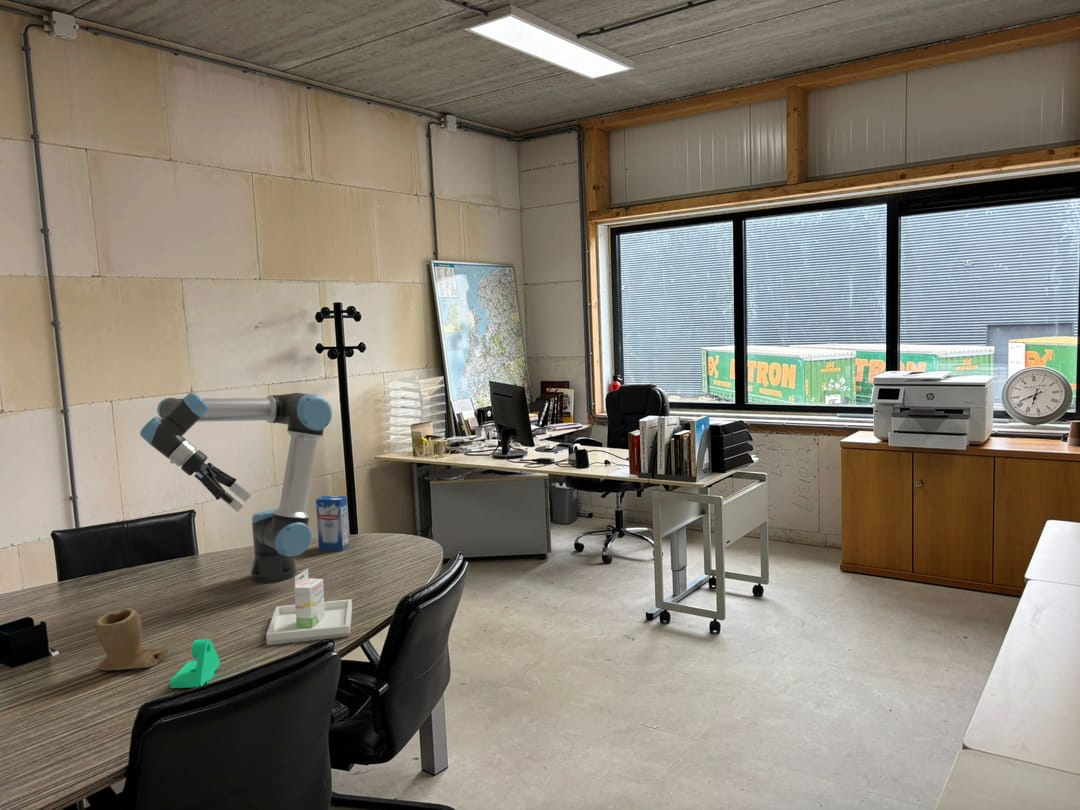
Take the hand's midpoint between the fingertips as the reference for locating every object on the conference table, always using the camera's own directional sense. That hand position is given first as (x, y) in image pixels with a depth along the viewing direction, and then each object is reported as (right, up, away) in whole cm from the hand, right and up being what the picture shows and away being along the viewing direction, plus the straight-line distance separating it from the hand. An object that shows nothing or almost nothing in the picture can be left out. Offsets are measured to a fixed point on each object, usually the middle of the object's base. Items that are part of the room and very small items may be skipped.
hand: (245, 503), depth 242 cm
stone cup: (-15, -38, -38) cm, 56 cm away
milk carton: (+10, -26, +65) cm, 71 cm away
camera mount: (+5, -38, -47) cm, 61 cm away
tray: (+25, -34, -14) cm, 44 cm away
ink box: (+24, -33, -14) cm, 43 cm away
